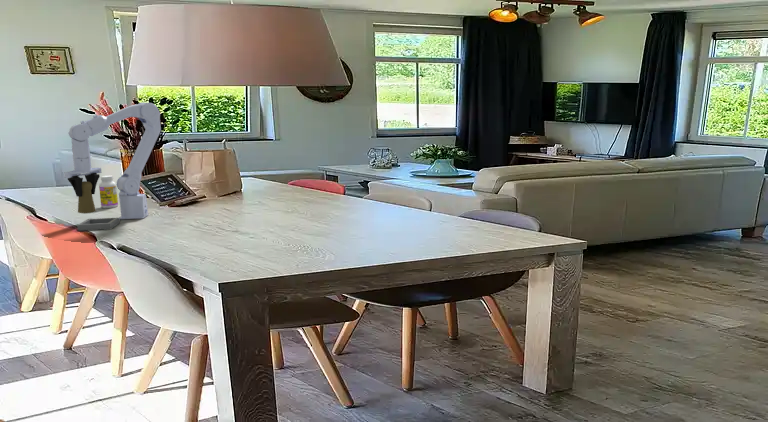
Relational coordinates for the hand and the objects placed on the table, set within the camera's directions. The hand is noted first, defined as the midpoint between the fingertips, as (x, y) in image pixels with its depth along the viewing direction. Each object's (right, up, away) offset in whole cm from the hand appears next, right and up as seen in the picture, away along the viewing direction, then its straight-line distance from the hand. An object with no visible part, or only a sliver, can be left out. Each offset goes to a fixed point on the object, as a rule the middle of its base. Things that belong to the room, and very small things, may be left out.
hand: (85, 195), depth 251 cm
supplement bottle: (-5, -4, +36) cm, 36 cm away
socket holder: (+7, -11, -5) cm, 14 cm away
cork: (0, -6, +2) cm, 6 cm away
